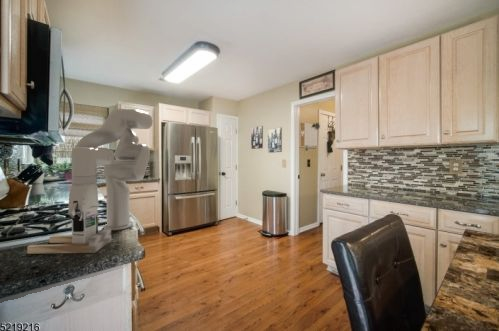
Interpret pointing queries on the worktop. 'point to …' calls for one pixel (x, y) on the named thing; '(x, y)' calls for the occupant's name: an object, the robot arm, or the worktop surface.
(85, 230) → the syrup box
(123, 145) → the robot arm
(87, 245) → the rail channel
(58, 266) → the worktop surface
